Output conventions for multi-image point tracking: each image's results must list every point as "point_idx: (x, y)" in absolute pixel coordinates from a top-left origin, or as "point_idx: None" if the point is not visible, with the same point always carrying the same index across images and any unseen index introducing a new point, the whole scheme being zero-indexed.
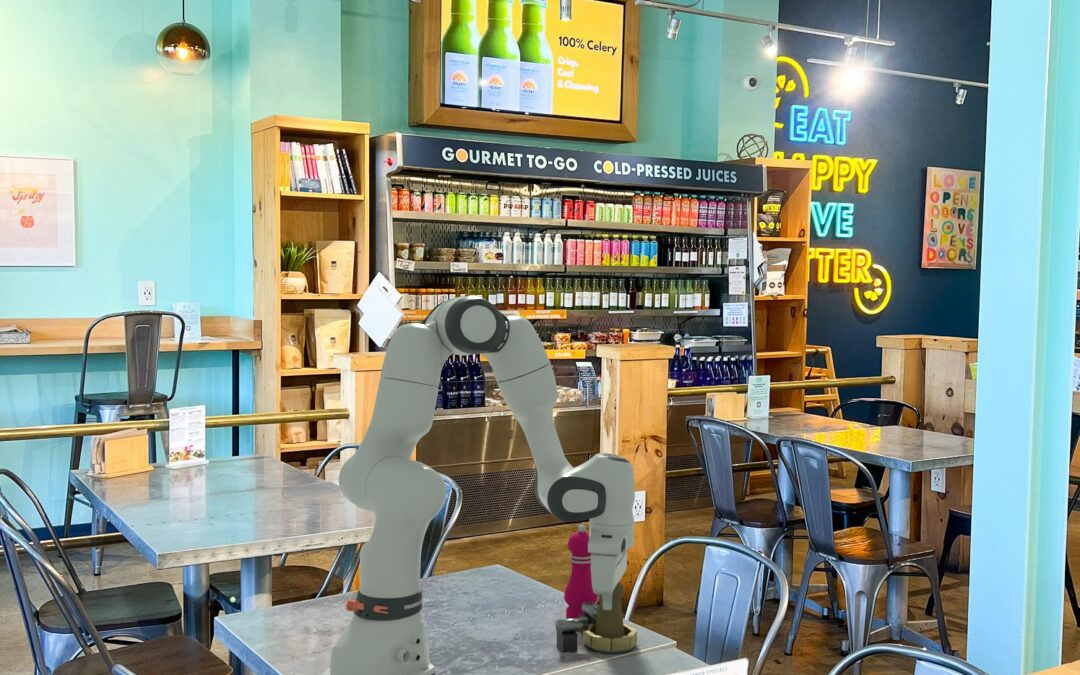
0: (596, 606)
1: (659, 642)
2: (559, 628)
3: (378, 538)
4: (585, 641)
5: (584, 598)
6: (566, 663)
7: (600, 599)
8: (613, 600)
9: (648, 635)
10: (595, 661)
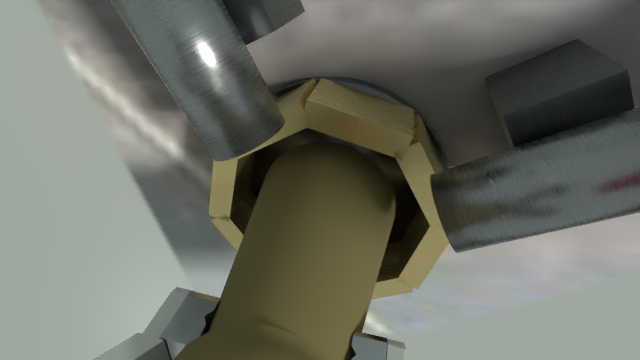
0: (508, 227)
1: (392, 317)
2: None
3: None
4: (285, 95)
5: None
6: (74, 12)
7: (245, 318)
8: None
9: (468, 305)
10: (149, 127)
